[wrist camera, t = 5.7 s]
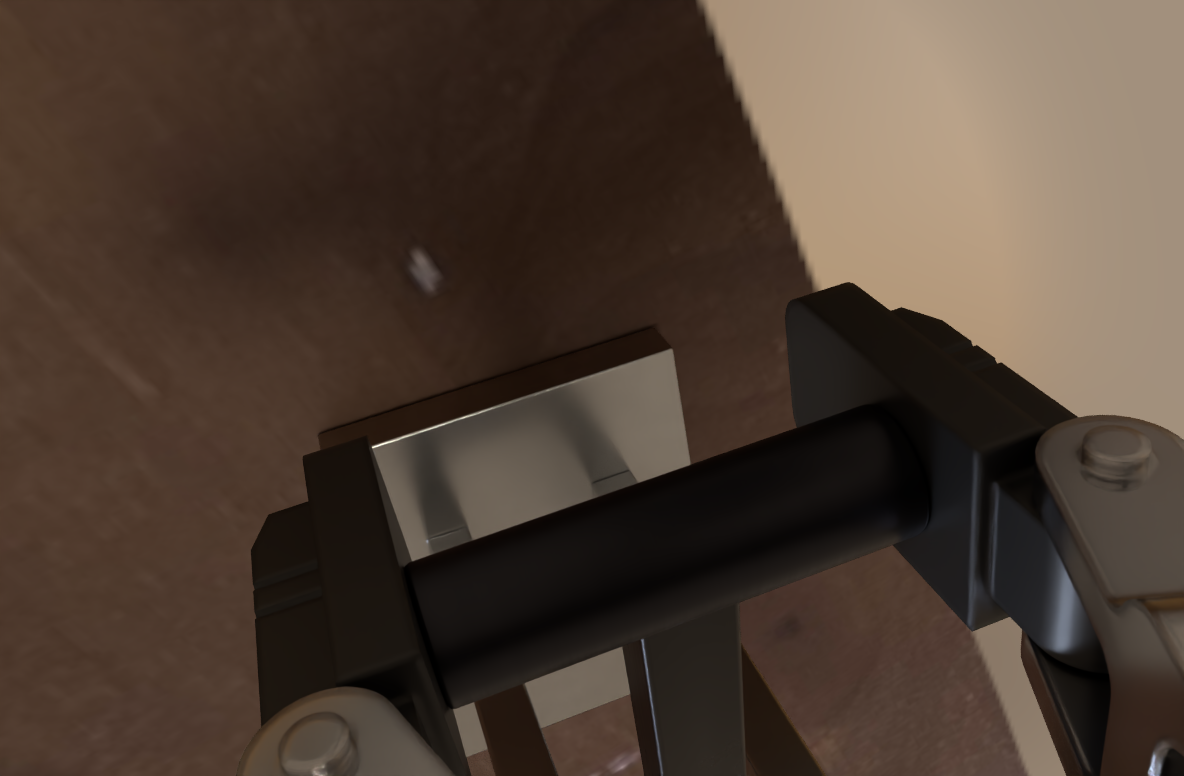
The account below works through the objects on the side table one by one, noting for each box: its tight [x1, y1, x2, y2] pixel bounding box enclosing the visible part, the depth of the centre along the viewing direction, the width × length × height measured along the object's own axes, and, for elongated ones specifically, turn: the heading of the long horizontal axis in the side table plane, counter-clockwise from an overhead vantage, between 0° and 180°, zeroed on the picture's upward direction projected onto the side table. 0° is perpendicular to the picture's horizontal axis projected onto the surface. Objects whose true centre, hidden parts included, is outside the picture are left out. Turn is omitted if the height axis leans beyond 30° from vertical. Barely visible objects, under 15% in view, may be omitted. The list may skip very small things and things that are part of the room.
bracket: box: [318, 328, 826, 776], centre depth 21 cm, size 10×8×13 cm
